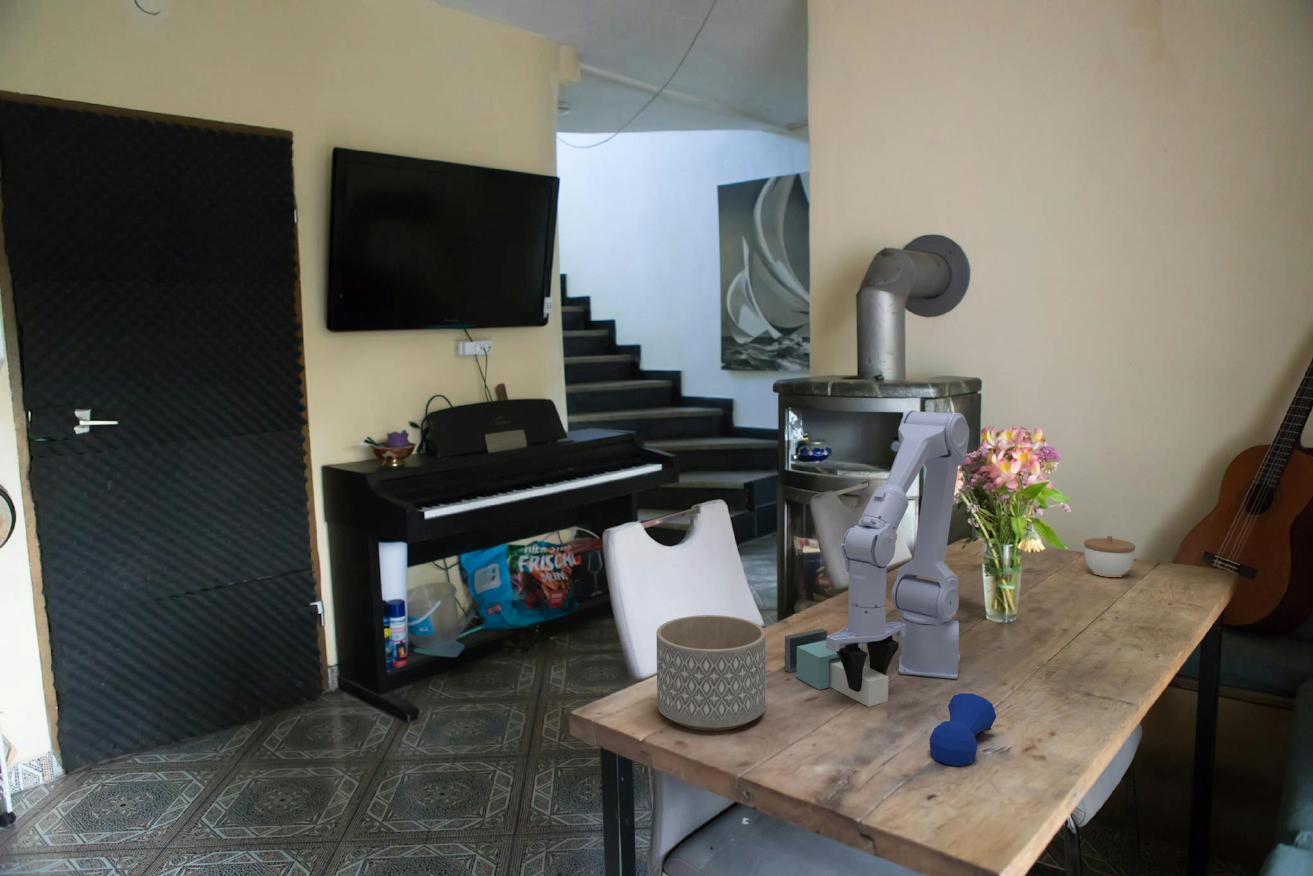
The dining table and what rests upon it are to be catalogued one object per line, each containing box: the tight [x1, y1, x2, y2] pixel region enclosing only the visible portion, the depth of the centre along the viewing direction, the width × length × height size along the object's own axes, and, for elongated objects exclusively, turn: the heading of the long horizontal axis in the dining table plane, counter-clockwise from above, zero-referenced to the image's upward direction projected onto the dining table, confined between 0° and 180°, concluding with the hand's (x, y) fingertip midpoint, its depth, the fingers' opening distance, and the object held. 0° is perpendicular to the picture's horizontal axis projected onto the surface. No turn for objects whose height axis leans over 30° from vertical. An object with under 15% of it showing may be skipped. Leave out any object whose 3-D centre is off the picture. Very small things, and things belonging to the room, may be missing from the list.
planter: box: [656, 614, 767, 732], centre depth 135 cm, size 16×16×13 cm
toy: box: [929, 692, 997, 767], centre depth 124 cm, size 7×6×15 cm
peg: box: [829, 658, 889, 707], centre depth 142 cm, size 10×4×4 cm, turn 29°
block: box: [796, 640, 864, 691], centre depth 148 cm, size 6×9×5 cm, turn 118°
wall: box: [784, 628, 828, 674], centre depth 153 cm, size 2×8×6 cm, turn 118°
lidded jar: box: [1083, 535, 1136, 575], centre depth 210 cm, size 11×11×9 cm
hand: (865, 686), depth 140 cm, fingers closed on peg, 4 cm apart
